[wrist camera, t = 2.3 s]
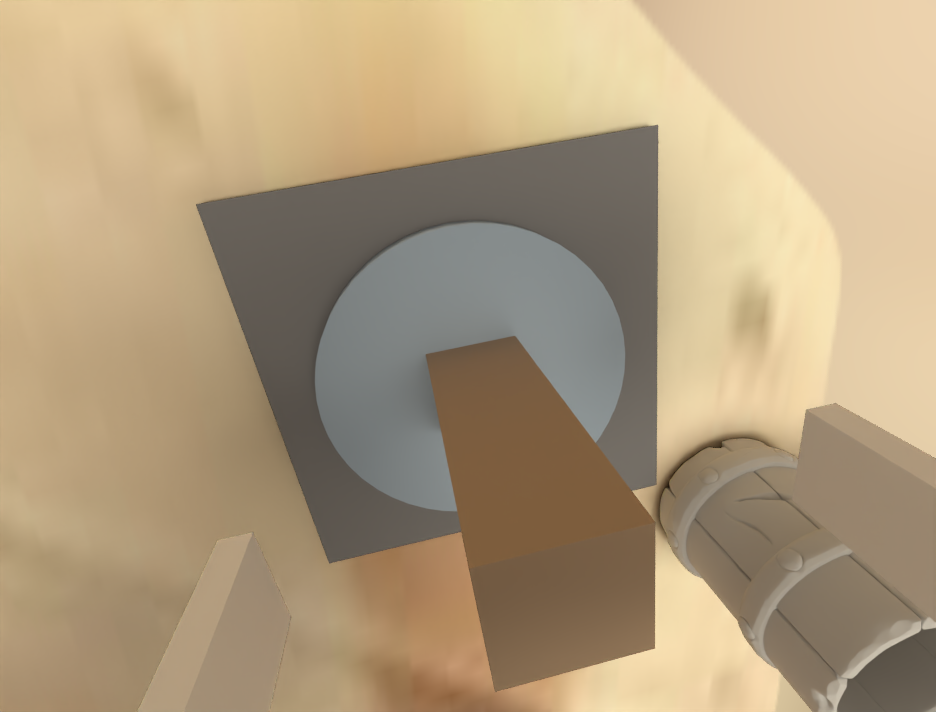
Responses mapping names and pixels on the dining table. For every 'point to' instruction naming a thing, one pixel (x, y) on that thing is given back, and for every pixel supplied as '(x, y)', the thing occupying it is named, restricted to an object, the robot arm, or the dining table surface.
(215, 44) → the dining table surface
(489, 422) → the lid
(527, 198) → the mat
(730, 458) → the mug
